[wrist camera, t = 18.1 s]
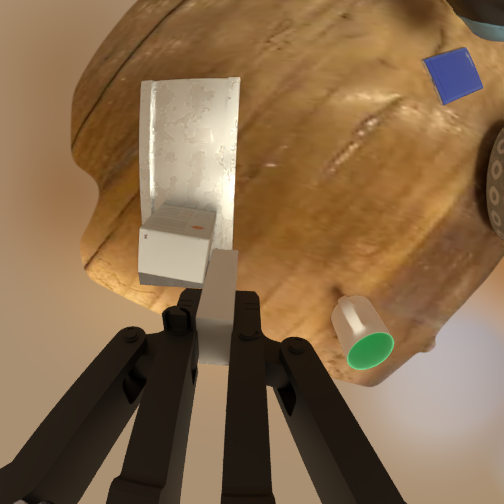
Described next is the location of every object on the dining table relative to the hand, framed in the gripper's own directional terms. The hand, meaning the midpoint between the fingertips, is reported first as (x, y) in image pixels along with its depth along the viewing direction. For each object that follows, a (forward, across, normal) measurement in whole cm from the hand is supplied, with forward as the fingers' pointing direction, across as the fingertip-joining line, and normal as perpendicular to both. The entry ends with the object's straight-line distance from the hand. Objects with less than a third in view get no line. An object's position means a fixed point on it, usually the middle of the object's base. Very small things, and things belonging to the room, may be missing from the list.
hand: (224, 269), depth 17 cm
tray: (+24, -7, +1) cm, 25 cm away
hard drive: (+26, +34, +25) cm, 50 cm away
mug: (+24, +20, -20) cm, 37 cm away
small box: (+23, -7, -6) cm, 24 cm away
